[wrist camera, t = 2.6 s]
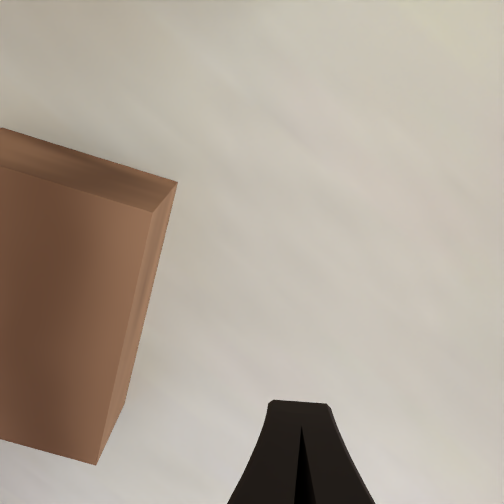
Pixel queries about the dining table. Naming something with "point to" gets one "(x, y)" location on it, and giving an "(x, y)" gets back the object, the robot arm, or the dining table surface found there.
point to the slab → (72, 290)
